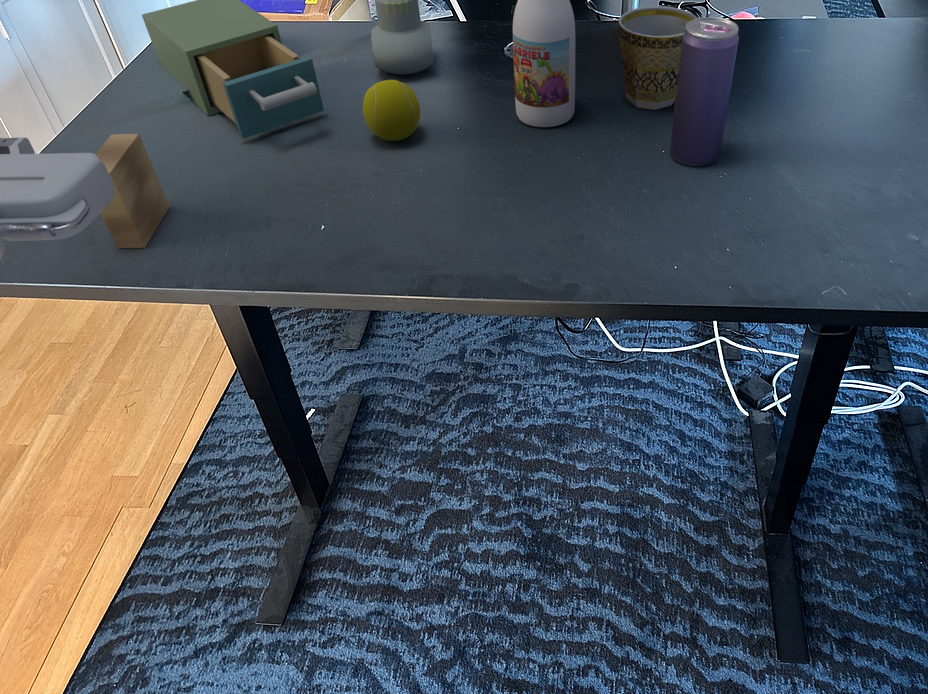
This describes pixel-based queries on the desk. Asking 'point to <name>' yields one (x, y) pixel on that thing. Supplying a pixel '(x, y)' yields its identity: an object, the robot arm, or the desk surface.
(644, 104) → the ceramic cup
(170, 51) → the cabinet
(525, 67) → the milk bottle
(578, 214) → the desk surface
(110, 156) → the wooden block
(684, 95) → the beverage can
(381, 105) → the tennis ball
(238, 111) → the drawer
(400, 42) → the air freshener
